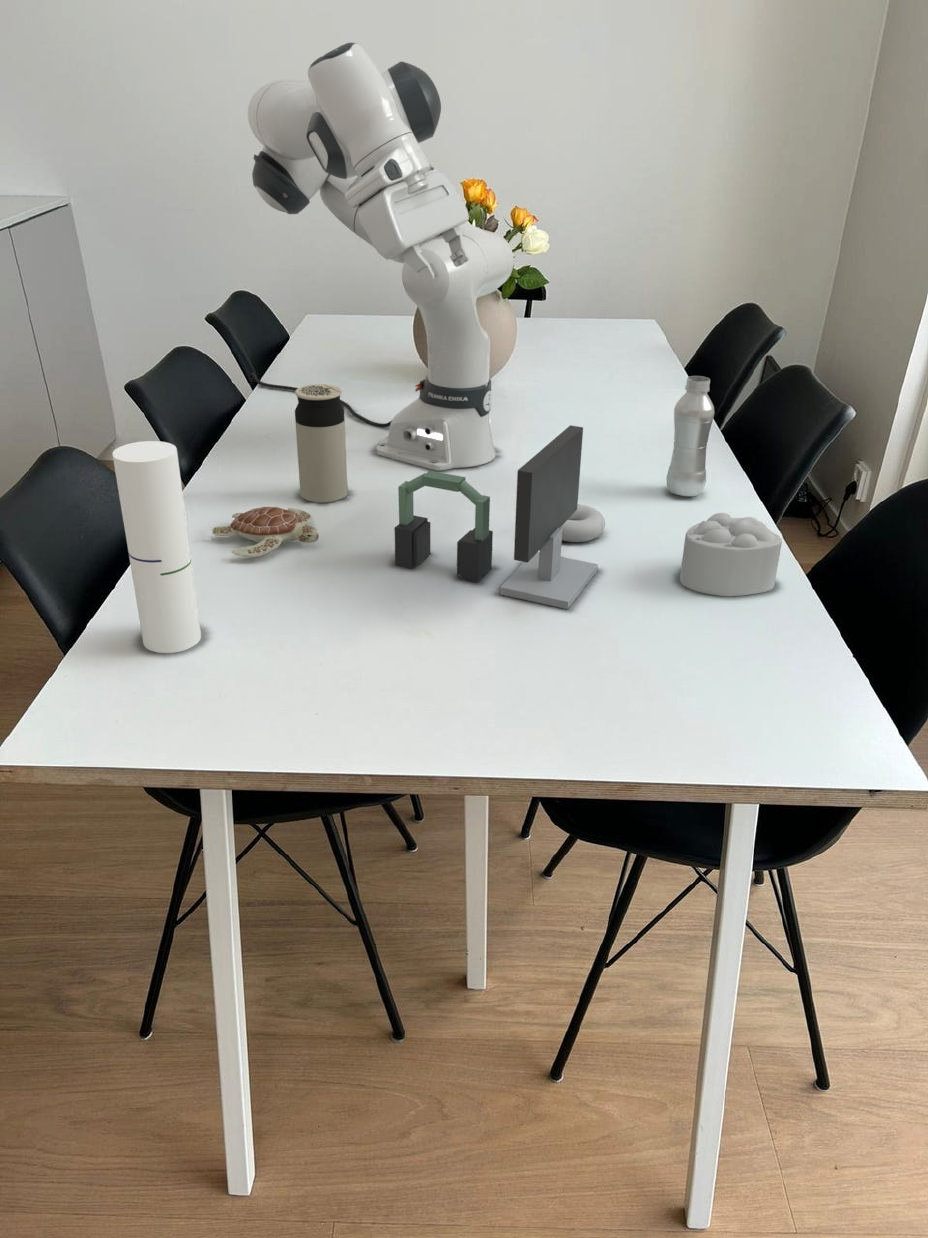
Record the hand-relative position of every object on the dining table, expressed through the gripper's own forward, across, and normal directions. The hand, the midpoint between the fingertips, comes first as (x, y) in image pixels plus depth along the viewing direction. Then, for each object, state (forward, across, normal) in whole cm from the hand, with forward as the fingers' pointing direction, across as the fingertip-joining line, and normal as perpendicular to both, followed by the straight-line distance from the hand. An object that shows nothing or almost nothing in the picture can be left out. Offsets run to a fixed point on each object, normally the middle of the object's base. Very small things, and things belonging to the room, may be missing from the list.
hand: (447, 271), depth 134 cm
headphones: (+35, +8, -19) cm, 41 cm away
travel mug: (+20, -7, -45) cm, 50 cm away
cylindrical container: (+22, +43, -36) cm, 60 cm away
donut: (+43, -12, -9) cm, 46 cm away
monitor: (+43, +6, -6) cm, 44 cm away
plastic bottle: (+50, -36, 0) cm, 62 cm away
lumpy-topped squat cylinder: (+56, -6, +12) cm, 58 cm away
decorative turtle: (+20, +12, -43) cm, 49 cm away
